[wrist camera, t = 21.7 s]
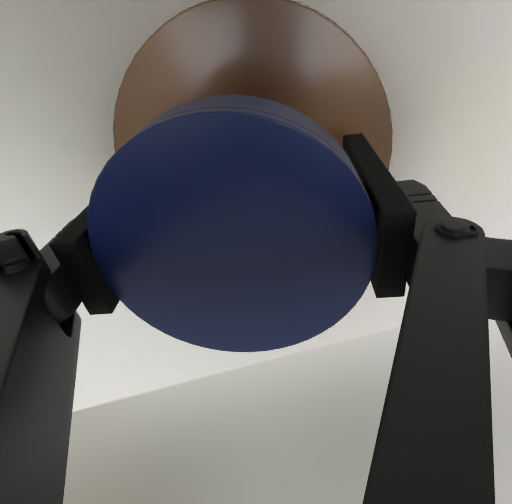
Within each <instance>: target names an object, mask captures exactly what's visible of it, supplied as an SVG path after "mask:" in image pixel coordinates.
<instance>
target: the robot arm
mask: <svg viewBox="0 0 512 504" xmlns="http://www.w3.org/2000/svg"><path fill="white" fill-rule="evenodd" d="M343 149H344V151H345V152H346V153H347V155H348V156H349V158H350V160H351V162H352V164H353V166H354V168H355V169H356V171H357V173H358V176H359V178H360V180H361V182H362V184H363V186H364V188H365V190H366V192H367V194H368V196H369V199H370V201H371V204H372V207H373V210H374V213H375V216H376V222H377V228H378V236H377V249H376V260H375V269H374V271H373V274H372V277H371V283H372V286H373V289H374V292H375V295H376V298H384V297H401V296H404V294H405V287H406V281H407V283H408V285H409V292H408V296H407V301H406V306H405V310H404V315H403V319H402V324H401V329H400V333H399V339H398V342H397V347H396V352H395V356H394V361H393V366H392V370H391V375H390V380H389V384H388V389H387V394H386V398H385V403H384V407H383V412H382V416H381V422H380V426H379V430H378V435H377V439H376V444H375V449H374V454H373V458H372V463H371V467H370V472H369V476H368V481H367V486H366V490H365V495H364V500H363V504H495V488H494V464H493V463H494V462H493V439H492V438H493V437H492V409H491V383H490V357H489V330H488V319H492V320H496V323H497V325H498V328H499V330H500V332H501V335H502V337H503V339H504V341H505V344H506V346H507V348H508V351H509V353H510V355H511V357H512V240H506V239H495V238H489V237H485V233H484V231H483V229H482V228H481V227H480V226H479V225H477V224H476V223H474V222H471V221H469V220H466V219H462V218H457V217H452V216H451V215H450V214H449V213H448V212H447V210H446V209H445V208H444V207H443V206H442V204H441V203H440V202H439V201H437V199H436V197H435V196H434V195H432V193H431V192H430V190H429V189H428V188H427V187H426V186H425V185H423V184H421V183H419V182H417V181H415V180H405V181H395V179H394V178H393V177H392V175H391V174H390V172H389V171H388V169H387V168H386V167H385V165H384V164H383V162H382V161H381V159H380V158H379V156H378V155H377V154H376V152H375V151H374V149H373V148H372V146H371V145H370V144H369V142H368V141H367V139H366V138H365V136H364V135H363V133H359V134H350V135H343ZM88 206H89V205H88ZM88 206H87V207H86V208H85V209H84V210H83V211H82V212H81V213H80V214H79V215H78V216H77V217H76V218H75V219H73V220H71V221H70V222H69V223H68V224H67V225H66V226H65V227H64V228H63V229H62V231H60V232H59V233H58V234H57V235H56V237H54V238H53V239H52V240H51V241H50V242H49V243H47V244H46V245H45V246H44V247H43V248H42V249H41V250H40V251H39V250H38V248H37V246H36V245H35V243H34V242H33V240H32V238H31V237H30V235H29V234H28V232H27V231H26V230H23V229H15V230H10V231H6V232H3V233H0V504H63V496H64V486H65V476H66V466H67V456H68V447H69V436H70V427H71V417H72V408H73V398H74V388H75V378H76V368H77V359H78V349H79V339H80V329H81V318H80V316H79V315H78V313H77V311H76V309H77V308H78V306H79V305H80V303H81V302H83V304H84V305H85V307H86V309H87V310H88V312H89V314H90V315H94V314H111V313H113V311H114V309H115V307H116V306H117V304H118V302H119V300H120V299H119V298H118V297H117V296H116V295H115V294H114V292H113V291H112V290H111V288H110V287H109V286H108V284H107V282H106V280H105V278H104V277H103V275H102V273H101V271H100V269H99V267H98V265H97V263H96V261H95V259H94V257H93V254H92V251H91V247H90V243H89V237H88V229H87V218H88Z"/></svg>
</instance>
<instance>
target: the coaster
mask: <svg viewBox="0 0 512 504" xmlns="http://www.w3.org/2000/svg"><path fill="white" fill-rule="evenodd" d="M226 94H237V95H250V96H256V97H261V98H265V99H270V100H274V101H276V102H279V103H281V104H284V105H287V106H289V107H292V108H294V109H296V110H297V111H299V112H301V113H303V114H305V115H307V116H308V117H310V118H311V119H313V120H314V121H315V122H317V123H318V124H319V125H321V126H322V127H323V128H325V129H326V130H327V131H328V132H329V133H330V134H331V135H332V136H333V137H334V138H335V139H336V140H337V141H338V143H339V144H340V145H341V147H342V148H343V135H350V134H359V133H363V135H364V136H365V138H366V139H367V141H368V142H369V144H370V145H371V146H372V148H373V149H374V151H375V152H376V154H377V155H378V156H379V158H380V159H381V161H382V162H383V164H384V165H385V167H386V168H387V169H389V165H390V158H391V152H392V123H391V115H390V109H389V105H388V101H387V98H386V94H385V91H384V88H383V86H382V84H381V81H380V79H379V76H378V74H377V72H376V70H375V69H374V67H373V65H372V64H371V62H370V61H369V59H368V57H367V56H366V54H365V53H364V52H363V51H362V49H361V48H360V47H359V46H358V45H357V43H356V42H355V41H354V40H353V39H352V37H350V36H349V35H348V34H347V33H346V32H345V31H344V30H342V29H341V28H340V27H339V26H338V25H337V24H336V23H334V22H333V21H331V20H330V19H328V18H326V17H325V16H323V15H322V14H320V13H318V12H317V11H315V10H313V9H311V8H308V7H306V6H303V5H301V4H299V3H296V2H294V1H290V0H209V1H205V2H202V3H200V4H198V5H195V6H193V7H191V8H189V9H187V10H184V11H182V12H181V13H179V14H178V15H176V16H175V17H173V18H172V19H170V20H169V21H167V22H166V23H164V24H163V25H162V26H161V27H160V28H159V29H158V30H157V31H156V32H155V33H154V34H152V35H151V36H150V37H149V38H148V39H147V41H146V42H145V43H144V45H143V46H142V47H141V48H140V50H139V51H138V52H137V54H136V55H135V57H134V59H133V60H132V62H131V64H130V66H129V68H128V69H127V71H126V73H125V76H124V79H123V81H122V84H121V86H120V89H119V93H118V97H117V102H116V106H115V113H114V126H113V132H114V148H115V152H116V151H117V150H118V149H119V148H120V147H121V146H122V145H124V144H125V143H126V142H127V141H128V140H129V139H131V138H132V137H133V136H134V135H135V134H137V133H138V132H139V131H140V130H141V129H142V128H144V127H145V126H146V125H147V124H149V123H150V122H151V121H152V120H154V119H155V118H156V117H157V116H159V115H160V114H162V113H164V112H166V111H167V110H169V109H171V108H173V107H174V106H177V105H180V104H182V103H185V102H188V101H190V100H193V99H198V98H202V97H207V96H212V95H226Z"/></svg>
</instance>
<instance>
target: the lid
mask: <svg viewBox="0 0 512 504" xmlns="http://www.w3.org/2000/svg"><path fill="white" fill-rule="evenodd" d="M87 229H88V237H89V243H90V247H91V251H92V254H93V257H94V259H95V261H96V263H97V265H98V267H99V269H100V271H101V273H102V275H103V277H104V278H105V280H106V282H107V284H108V286H109V287H110V288H111V290H112V291H113V292H114V294H115V295H116V296H117V297H118V298H119V299H120V300H121V301H122V302H123V303H124V304H125V305H126V307H127V308H129V309H130V310H131V311H132V312H133V313H135V314H136V315H137V316H138V317H139V318H141V319H142V320H144V321H145V322H147V323H148V324H150V325H151V326H153V327H155V328H156V329H158V330H160V331H162V332H164V333H165V334H168V335H170V336H172V337H174V338H177V339H179V340H182V341H185V342H187V343H190V344H193V345H197V346H201V347H205V348H210V349H215V350H221V351H232V352H257V351H268V350H274V349H279V348H284V347H287V346H291V345H295V344H297V343H300V342H303V341H306V340H308V339H310V338H312V337H314V336H316V335H318V334H320V333H322V332H324V331H325V330H327V329H328V328H330V327H332V326H333V325H334V324H336V323H337V322H338V321H339V320H341V319H342V318H343V317H344V316H345V315H346V314H347V313H348V312H349V311H350V310H351V309H352V308H353V307H354V306H355V305H356V303H357V302H358V301H359V299H360V298H361V296H362V295H363V294H364V292H365V290H366V288H367V286H368V284H369V282H370V280H371V277H372V274H373V271H374V269H375V260H376V249H377V236H378V228H377V222H376V216H375V213H374V210H373V207H372V204H371V201H370V199H369V196H368V194H367V192H366V190H365V188H364V186H363V184H362V182H361V180H360V178H359V176H358V173H357V171H356V169H355V168H354V166H353V164H352V162H351V160H350V158H349V156H348V155H347V153H346V152H345V151H344V149H343V148H342V147H341V145H340V144H339V143H338V141H337V140H336V139H335V138H334V137H333V136H332V135H331V134H330V133H329V132H328V131H327V130H326V129H325V128H323V127H322V126H321V125H319V124H318V123H317V122H315V121H314V120H313V119H311V118H310V117H308V116H307V115H305V114H303V113H301V112H299V111H297V110H296V109H294V108H292V107H289V106H287V105H284V104H281V103H279V102H276V101H274V100H270V99H265V98H261V97H256V96H250V95H237V94H226V95H212V96H207V97H202V98H198V99H193V100H190V101H188V102H185V103H182V104H180V105H177V106H174V107H173V108H171V109H169V110H167V111H166V112H164V113H162V114H160V115H159V116H157V117H156V118H155V119H154V120H152V121H151V122H150V123H149V124H147V125H146V126H145V127H144V128H142V129H141V130H140V131H139V132H138V133H137V134H135V135H134V136H133V137H132V138H131V139H129V140H128V141H127V142H126V143H125V144H124V145H122V146H121V147H120V148H119V149H118V150H117V151H116V152H115V154H114V155H113V156H112V157H111V158H110V159H109V160H108V161H107V163H106V164H105V166H104V168H103V169H102V171H101V173H100V174H99V176H98V177H97V180H96V183H95V185H94V188H93V190H92V193H91V197H90V202H89V206H88V218H87Z"/></svg>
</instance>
